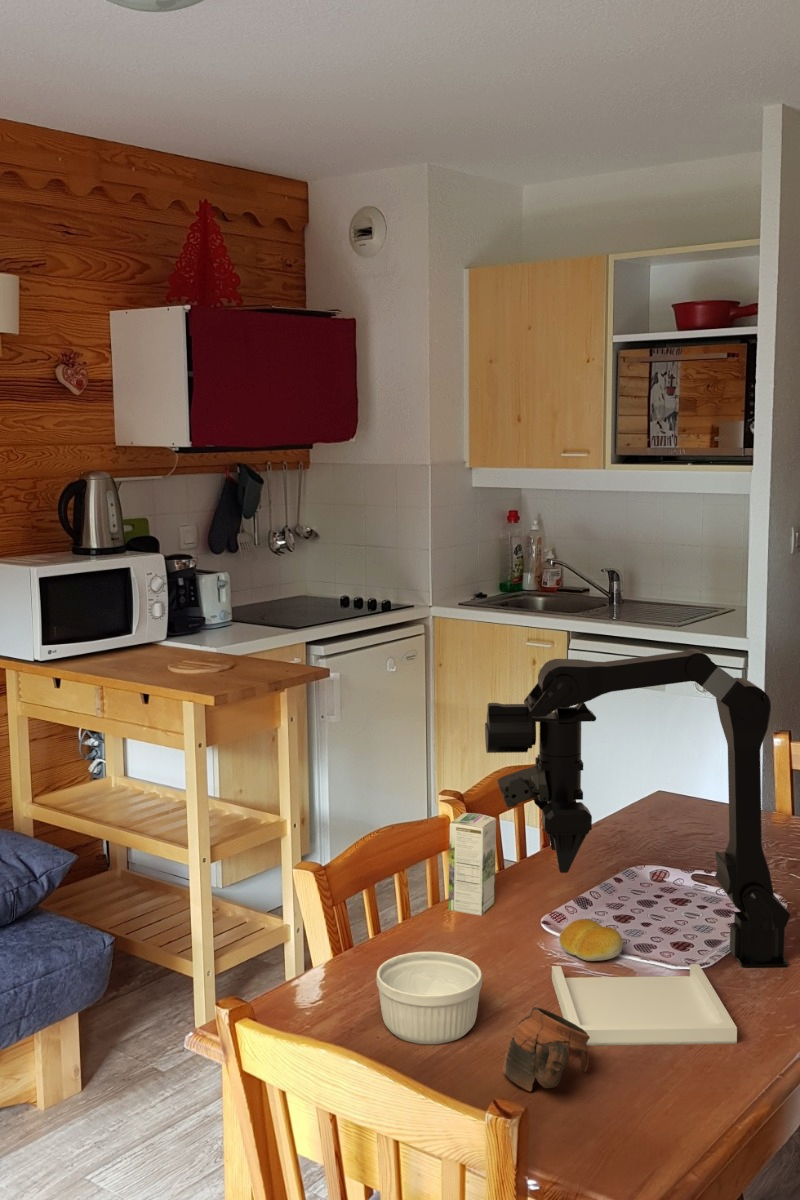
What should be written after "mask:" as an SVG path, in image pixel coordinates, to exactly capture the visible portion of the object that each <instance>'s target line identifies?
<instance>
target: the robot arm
mask: <svg viewBox="0 0 800 1200" xmlns="http://www.w3.org/2000/svg"><path fill="white" fill-rule="evenodd" d="M687 682H695V683H697V684H698V686H701V687H702V688H703V689H705V691H707V692H708V693H709V694H711V695H712V696H713V697H715V700H716V701H715V702H716V707H717V711H718V717H719V721H720V725H721V727H722V731H723V734H724V737H725V740H726V744H727V775H728V777H727V778H728V779H727V783H728V787H727V788H728V827H729V829H728V832H729V835H728V836H729V839H728V844H727V847H726V849H725V851H724V852H723V851H715V860H716V865H717V866H716V873H715V874H714V877H715V880H716V881H717V882H718V884H719V885H720V887H721V889H722V890H723V892H724V893H725V894H726V896H727V897H728V899H729V900H730V902H731V903H732V904H733V905H734V907H735V908H736V909H738V911H734V920H733V921H734V922H731V923H730V928H729V929H730V932H729V951H730V953H731V954H732V955H733V957H734V958H735V959H736V960H737V963H739V964H740V966H741V967H742V968H777V967H778V968H784V967H788V966H789V961H788V960H787V959H786V958H785V939H786V938H785V934H786V933H785V932H786V927H787V924H788V922H789V919H790V917H791V913H790V911H788V909H787V908H786V907H785V906H784V905H783V903H782V902H781V901H780V900H779V899H778V898H777V896H776V895H775V893H774V887H773V883H772V882H773V881H772V877H771V873H770V872H771V871H770V869H769V865H768V863H767V859H766V856H765V853H764V850H763V849H764V848H763V839H762V837H763V836H762V832H763V830H762V782H761V781H762V780H761V779H762V776H761V775H762V774H761V768H762V767H761V764H762V763H761V748H762V744H764V743H763V742H764V740H765V738H766V735H767V732H768V728H769V724H770V716H771V710H772V704H771V699H770V697H769V695H768V693H766V692H765V691H764V690H763V689H762V688H761V687H759V686H757V685H756V684H754V683H753V682H751V681H750V680H749V679H745V678H743V677H733V676H732V675H731V674H729V673H728V672H726V671H725V670H724V669H722V668H721V667H720V666H718V665H717V664H716V663H715V662H713V661H712V658H711V657H710V656H708V655H707V654H706V653H704V652H703V651H702V650H700V649H696V648H687V649H685V650H683V651H677V652H670V653H668V652H667V653H663V654H654V655H648V656H638V657H632V658H624V659H615V660H609V661H593V660H587V659H585V660H584V659H573V658H553V659H551V660H548V661H546V662H545V663H544V664H543V666H542V667H541V668H540V669H539V672H538V675H537V683H536V684H535V685H534V687H533V688H532V689H531V690H530V692H529V693H528V695H527V696H526V697H525V699H524V700H523V703H508V704H507V703H498V702H489V703H487V712H486V722H485V723H484V736H485V737H484V741H485V751H486V753H487V754H496V753H497V754H500V753H501V754H503V753H504V754H506V753H511V754H512V753H520V754H521V753H522V754H523V753H528V752H529V749H533V746H536V743H537V723H539V752H538V753H539V754H537V756H536V757H535V763H534V764H535V765H534V766H531V767H528V768H523V769H520V770H518V771H515V772H512V773H510V774H507V775H503V776H502V777H500V778H498V779H497V783H498V788H499V789H500V790H499V791H500V793H501V795H502V798H503V800H504V803H505V806H506V808H514V807H518V804H521V803H524V802H527V801H529V800H532V799H533V802H534V804H535V805H536V806H537V807H538V808H539V809H540V810H541V820H542V822H541V823H542V827H543V830H544V832H545V834H547V835H548V839H549V843H550V848H551V850H552V851H555V853H556V859H557V864H558V870H559V873H562V874H567V873H568V872H569V871H570V869H571V867H572V865H573V862H574V860H575V858H576V856H577V854H578V852H579V851H580V848H581V846H582V844H583V842H584V840H585V839H586V837H587V835H588V834H590V831H592V828H593V827H592V824H593V819H592V818H593V817H592V814H591V811H590V810H589V808H588V807H587V806H586V805H585V804H584V803H583V802H581V801H580V800H582V801H583V800H584V792H583V789H582V785H581V784H582V771H584V762H583V760H582V723H583V722H584V723H585V722H596V720H597V716H596V715H595V714H594V712H593V711H592V710H590V708H588V707H587V704H586V702H590V701H592V700H594V699H597V698H598V697H600V696H602V695H606V694H609V693H612V692H621V691H627V690H635V689H640V688H641V689H642V688H648V687H649V688H650V687H656V686H665V685H666V686H667V685H672V684H673V685H674V684H679V683H687ZM578 801H579V802H578Z"/></svg>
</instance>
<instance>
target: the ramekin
mask: <svg viewBox="0 0 800 1200" xmlns="http://www.w3.org/2000/svg"><path fill="white" fill-rule="evenodd" d="M482 986H483V974H482V971H481V968H480V967H479V966H478V964H476V962H474V961H472V960H471V959H468V958H466V957H463V956H462V955H461V956H460V955H458V954H454V953H449V952H444V951H415V952H408V953H404V954H400V955H397V956H394V957H391V958H389V959H388V960H386V961H384V962H383V963H382V964H380V966H379V967H378V968H377V970H376V987H377V988H378V995H379V1002H380V1010H381V1015H382V1019H383V1022H384V1023H383V1024H384V1025H385V1026H386V1029H388V1030H389V1031H390V1033H392V1034H393V1035H395V1037H397V1038H398V1039H401V1040H403V1041H406V1042H410V1043H413V1044H421V1045H441V1044H446V1043H450V1042H454V1041H456V1040H459V1039H461V1038H462V1037H464V1036H465V1035H466V1034H467V1033H469V1031H470V1030H471V1029H472V1028H473V1026H474V1025H475V1023H476V1019H477V1015H478V1008H479V999H480V990H481V989H482Z"/></svg>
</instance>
